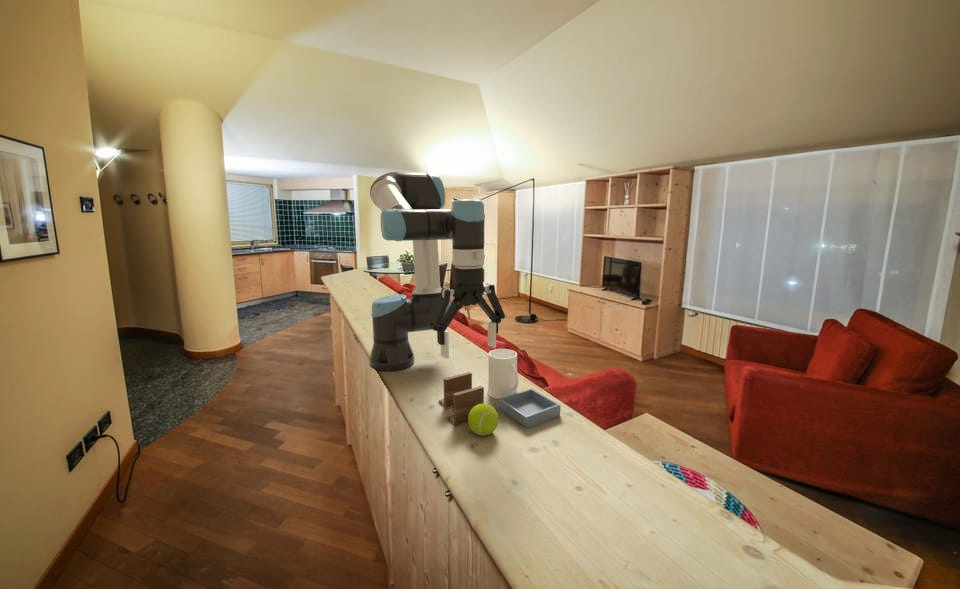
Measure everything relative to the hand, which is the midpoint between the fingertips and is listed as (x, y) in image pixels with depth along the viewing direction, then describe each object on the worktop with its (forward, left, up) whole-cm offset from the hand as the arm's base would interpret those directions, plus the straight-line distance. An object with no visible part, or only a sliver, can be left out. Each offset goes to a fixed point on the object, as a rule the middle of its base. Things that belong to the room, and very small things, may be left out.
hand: (469, 351), depth 93 cm
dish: (+8, +13, -17) cm, 23 cm away
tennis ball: (+9, -2, -17) cm, 20 cm away
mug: (-3, +14, -17) cm, 22 cm away
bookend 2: (+1, -2, -17) cm, 17 cm away
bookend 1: (-7, 0, -17) cm, 18 cm away
